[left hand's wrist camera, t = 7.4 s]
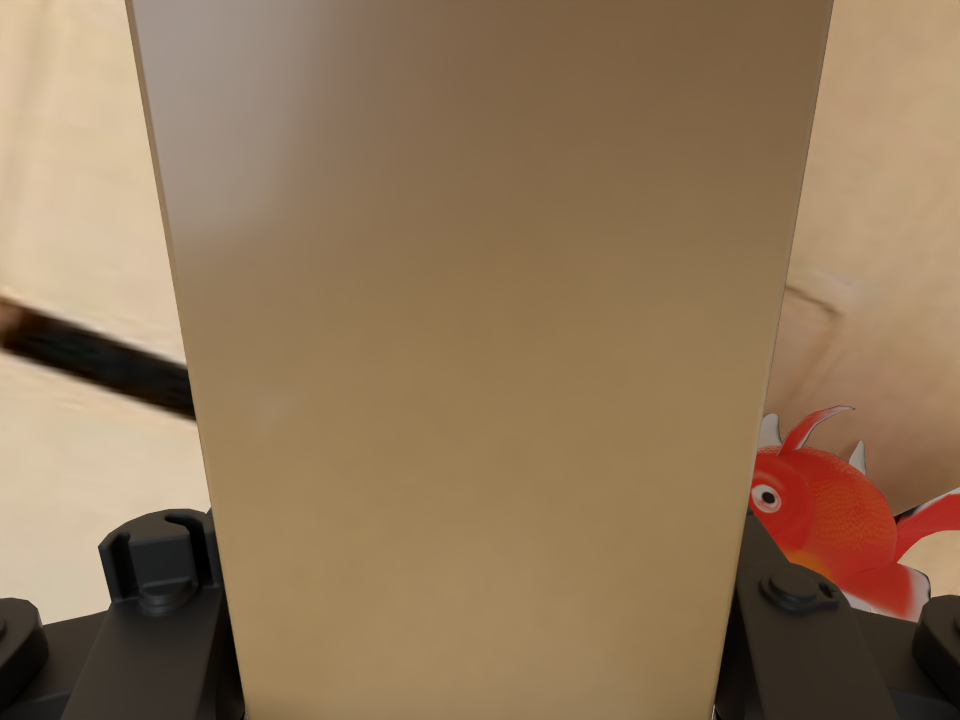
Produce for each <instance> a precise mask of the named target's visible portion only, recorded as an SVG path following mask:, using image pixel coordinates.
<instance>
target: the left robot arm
mask: <svg viewBox="0 0 960 720" xmlns="http://www.w3.org/2000/svg"><path fill="white" fill-rule="evenodd" d="M98 549H99V553H100V557H101V561H102V565H103V569H104V573H105V577H106V581H107V585H108V589H109V593H110V597H111V601H112V602H111V604H110V607H109V609H108V610H106V611H103V612H99V613H96V614H92V615H88V616H83V617H79V618H74V619H70V620H65V621H60V622H56V623H51V624H47V625H42V622H41V619H40V615H39V612H38V609H37V608H36V607H35V606H34V605H33V604H32V603H30V602H29V601H28V600H22V599H16V598H3V599H0V720H247V714H246V708H245V701H244V695H243V689H242V683H241V678H240V672H239V666H238V660H237V654H236V648H235V643H234V637H233V631H232V625H231V619H230V613H229V607H228V602H227V596H226V590H225V584H224V578H223V572H222V566H221V561H220V555H219V549H218V543H217V537H216V531H215V525H214V520H213V514H212V508H210V509H209V511H208V512H207V514H205V513H204V512H200V511H196V510H192V509H167V510H163V511H158V512H153V513H149V514H146V515H143V516H141V517H138V518H136V519H133V520H131V521H128V522H126V523H124V524H123V525H121V526H120V527H118V528H117V529H115V530H114V531H112V532H111V533H109V534H108V535H107V536H106V538H105V539H104V540H103V541H102V542H101V543H100V545H99V546H98ZM714 705H715V708H714V714H713V720H960V596H956V595H945V596H938V597H932V598H931V599H930V600H929V601H928V602H927V603H925V604H924V605H923V607H922V610H921V613H920V617H919V620H918V623H917V622H912V621H908V620H903V619H898V618H894V617H889V616H885V615H880V614H875V613H871V612H867V611H863V610H860V609H856V608H853V607H851V606H850V603H849V601H848V600H847V598H846V597H845V596H844V594H843V593H842V591H841V590H840V589H839V587H838V586H836V585H835V584H834V583H832V582H831V581H830V580H828V579H827V578H826V577H824V576H823V575H822V574H819V573H817V572H815V571H813V570H811V569H809V568H806V567H804V566H802V565H798V564H794V563H790V562H789V560H788V559H787V558H786V556H785V555H784V553H783V552H782V551H781V549H780V548H779V546H778V545H777V544H776V542H775V541H774V539H773V538H772V537H771V535H770V534H769V532H768V531H767V530H766V528H765V527H764V525H763V524H762V523H761V521H760V520H759V518H758V517H757V516H754V511H753V510H752V509H751V507H750V506H749V504H748V507H747V513H746V519H745V525H744V531H743V536H742V542H741V548H740V554H739V560H738V566H737V572H736V578H735V583H734V589H733V595H732V601H731V607H730V613H729V619H728V625H727V630H726V636H725V642H724V648H723V654H722V660H721V666H720V672H719V677H718V683H717V689H716V695H715V701H714Z"/></svg>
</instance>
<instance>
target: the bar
mask: <svg viewBox="0 0 960 720" xmlns="http://www.w3.org/2000/svg"><path fill="white" fill-rule="evenodd" d="M833 2H834V0H125V4H126V10H127V16H128V22H129V28H130V34H131V39H132V45H133V51H134V57H135V63H136V69H137V75H138V80H139V86H140V92H141V98H142V104H143V110H144V116H145V121H146V127H147V133H148V139H149V145H150V151H151V157H152V162H153V168H154V174H155V180H156V186H157V192H158V198H159V203H160V209H161V215H162V221H163V227H164V233H165V239H166V244H167V250H168V256H169V262H170V268H171V274H172V280H173V285H174V291H175V297H176V303H177V309H178V315H179V321H180V326H181V332H182V338H183V344H184V350H185V356H186V361H187V367H188V373H189V379H190V385H191V391H192V397H193V402H194V408H195V414H196V420H197V426H198V432H199V438H200V443H201V449H202V455H203V461H204V467H205V473H206V479H207V484H208V490H209V496H210V502H211V508H212V514H213V520H214V525H215V531H216V537H217V543H218V549H219V555H220V561H221V566H222V572H223V578H224V584H225V590H226V596H227V602H228V607H229V613H230V619H231V625H232V631H233V637H234V643H235V648H236V654H237V660H238V666H239V672H240V678H241V683H242V689H243V695H244V701H245V707H246V713H247V719H248V720H711V719H712V713H713V707H714V701H715V695H716V689H717V683H718V677H719V672H720V666H721V660H722V654H723V648H724V642H725V636H726V630H727V625H728V619H729V613H730V607H731V601H732V595H733V589H734V583H735V578H736V572H737V566H738V560H739V554H740V548H741V542H742V536H743V531H744V525H745V519H746V513H747V507H748V501H749V495H750V489H751V484H752V478H753V472H754V466H755V460H756V454H757V448H758V442H759V437H760V431H761V425H762V419H763V413H764V407H765V401H766V395H767V390H768V384H769V378H770V372H771V366H772V360H773V354H774V348H775V343H776V337H777V331H778V325H779V319H780V313H781V307H782V302H783V296H784V290H785V284H786V278H787V272H788V266H789V260H790V255H791V249H792V243H793V237H794V231H795V225H796V219H797V213H798V208H799V202H800V196H801V190H802V184H803V178H804V172H805V166H806V161H807V155H808V149H809V143H810V137H811V131H812V125H813V119H814V114H815V108H816V102H817V96H818V90H819V84H820V78H821V72H822V67H823V61H824V55H825V49H826V43H827V37H828V31H829V25H830V20H831V14H832V8H833Z"/></svg>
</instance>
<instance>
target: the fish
mask: <svg viewBox="0 0 960 720" xmlns="http://www.w3.org/2000/svg"><path fill="white" fill-rule="evenodd" d="M848 409H853V410H854V409H855V408H852V407H847V406H836V407H833V408H829V409H825V410H821V411H817V412H814V413H812V414H810V415H809V416H807V417H805V418H804V419H803V420H802V421H801V422H800V423H799V424H798V425H797V426H796V427H795V428H793V429H792V430H791V431H790V432H789V433H788V434H787V436H786V438H785V440H784V441H783V443H782V441H781V438H780V435H779V417H778V416H777V415H776V414H774V413H770V414H768V415H767V416H765V417H764V418H763V419H762V425H761V431H760V437H759V442H758V448H757V454H756V460H755V466H754V472H753V478H752V484H751V489H750V495H749V501H748V504H749V506H750V507H751V509H752V510H753V511H754V516H757V517H758V518H759V520H760V521H761V523H762V524H763V525H764V527H765V528H766V530H767V531H768V532H769V534H770V535H771V537H772V538H773V539H774V541H775V542H776V544H777V545H778V546H779V548H780V549H781V551H782V552H783V553H784V555H785V556H786V558H787V559H788V560H789V562H790V563H794V564H798V565H802V566H804V567H806V568H809V569H811V570H813V571H815V572H817V573H819V574H822V575H823V576H824V577H826V578H827V579H828V580H830V581H831V582H832V583H834V584H835V585H836V586H838V587H839V589H840V590H841V591H842V593H843V594H844V596H845V597H846V598H847V600H848V601H849V603H850V606H851V607H853V608H856V609H860V610H863V611H867V612H870V610H871V609H873V610H875V611H876V612H878V613H880V614H881V615H885V616H889V617H894V618H898V619H903V620H908V621H912V622H917V623H918V620H919V617H920V613H921V610H922V607H923V605H924V604H925V603H927V602H928V601H929V600H930V598H931V587H930V581H929V579H928V577H927V576H926V575H925V574H924V573H921V572H919V571H917V570H915V569H912V568H910V567H907V566H904V565H901V564H898V563H897V562H898V560H899V559H900V558H901V557H902V555H903V554H904V553H905V552H906V551H907V550H908V549H909V548H910V547H911V546H912V545H913V544H915V543H916V542H917V541H918V540H919V539H921V538H922V537H925V536H927V535H930V534H932V533H935V532H939V531H944V530H960V487H959V488H956V489H954V490H952V491H950V492H948V493H946V494H943V495H941V496H939V497H937V498H934V499H932V500H930V501H928V502H926V503H923V504H921V505H919V506H917V507H915V508H912V509H910V510H908V511H906V512H904V513H901V514H899V515H897V516H895V517H893V515H892V513H891V511H890V508H889V506H888V504H887V502H886V500H885V498H884V497H883V495H882V494H881V493H880V492H879V490H878V489H877V488H876V487H875V486H874V484H873V483H872V482H871V481H870V480H869V479H868V478H867V474H866V465H865V451H864V443H863V442H862V441H860V442H859V443H858V445H857V447H856V449H855V451H854V452H853V454H852V456H851V458H850V460H849V463H847V462H845V461H843V460H842V459H840V458H838V457H837V456H835V455H833V454H830V453H828V452H824V451H821V450H817V449H813V448H810V447H805V446H803V445H804V443H805V442H806V440H807V438H808V436H809V435H810V433H811V431H812V430H813V428H814V427H815V426H816V425H817V424H819V423H820V422H822V421H823V420H825V419H827V418H829V417H831V416H833V415H835V414H837V413H839V412H841V411H843V410H848Z"/></svg>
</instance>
